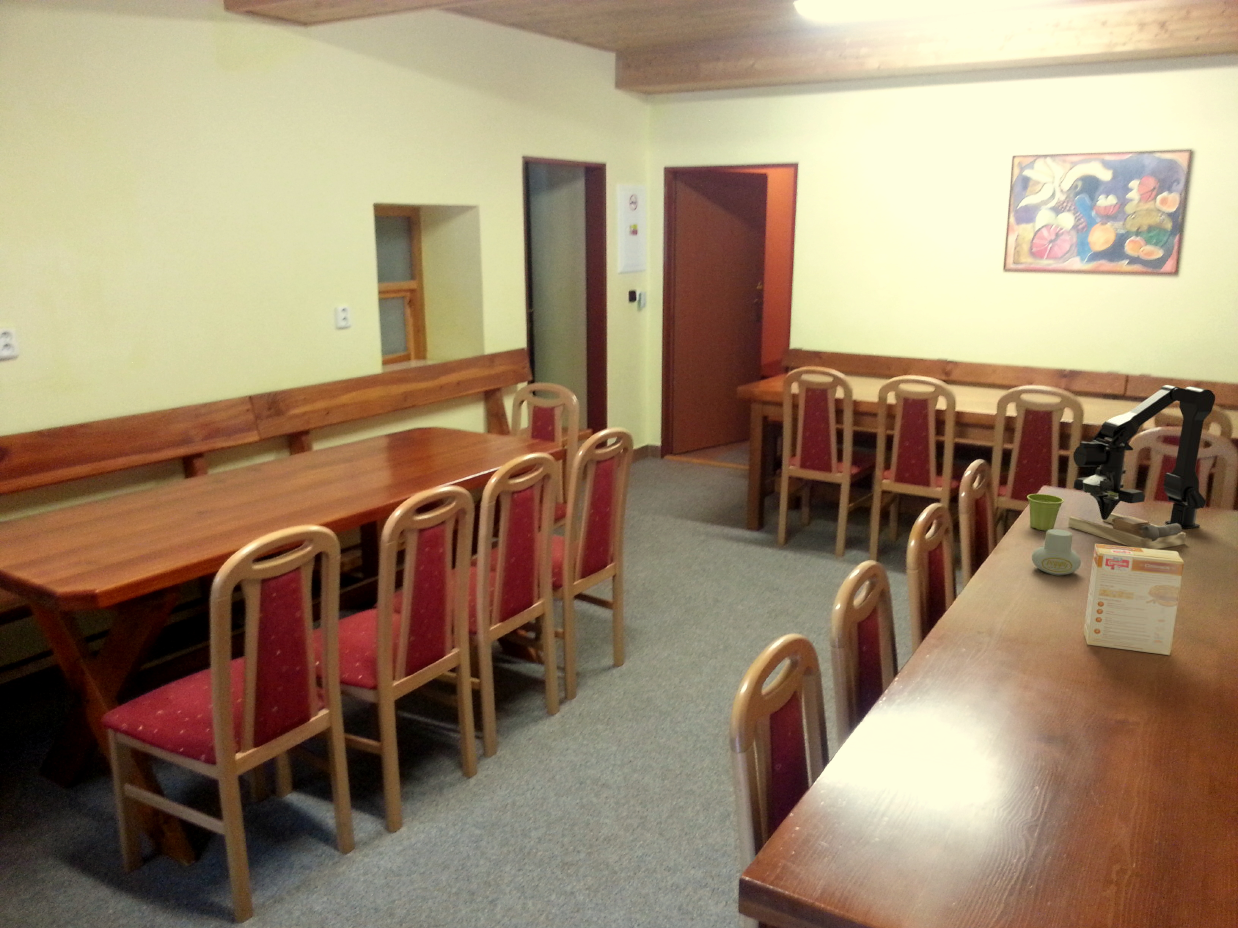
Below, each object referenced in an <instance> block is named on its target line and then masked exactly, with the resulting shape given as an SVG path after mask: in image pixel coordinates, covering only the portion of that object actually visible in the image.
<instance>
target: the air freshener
mask: <svg viewBox="0 0 1238 928" xmlns="http://www.w3.org/2000/svg"><path fill="white" fill-rule="evenodd" d="M1044 538H1045V539H1044V545H1043V546H1040V547H1038V548H1036V549H1035V550H1034V551H1033V552H1032V554H1031V561H1032V563H1033V564H1034V566H1035V567H1036V568H1038V569H1039V570H1040V571H1042V572H1044V573H1047V574H1048V575H1051V576H1064V575H1065V576H1066V575H1069V574H1072V573H1075V572H1077V570H1079V569H1080V567H1081V564H1082V561H1081V557H1080V556H1079V555H1078V554H1077V552H1076V551H1074V550H1073V549H1072V544H1073V543H1072V542H1073V534H1072V532H1070V531H1069V530H1064V529H1059V528H1058V529H1057V528H1053V529H1050V530H1048V531H1045V537H1044Z"/></svg>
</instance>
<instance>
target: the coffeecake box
mask: <svg viewBox="0 0 1238 928" xmlns="http://www.w3.org/2000/svg"><path fill="white" fill-rule="evenodd" d="M1092 554H1093V556H1092V563H1091V569H1090V570H1091V571H1090V580H1089V586H1088V595H1087V601H1086V609H1085V617H1084V627H1083V634H1084V637H1085V642H1086V645H1087V646H1094V647H1095V646H1096V647H1103V648H1110V649H1111V648H1112V649H1119V650H1120V649H1121V650H1126V651H1127V650H1128V651H1132V652H1133V651H1135V652H1142V653H1148V654H1149V653H1151V654H1156V655H1157V654H1158V655H1165V656H1170V655H1171V651H1172V646H1173V640H1174V639H1173V638H1174V630H1175V624H1176V618H1177V611H1178V605H1179V596H1180V591H1181V585H1182V584H1181V583H1182V579H1183V578H1182V577H1183V570H1184V566H1185V565H1184V564H1185V562H1184V560H1183V558H1182V557H1181V556H1180V554H1179V552H1178V551H1176V550H1166V549H1145V548H1135V547H1131V546H1126V545H1125V546H1123V545H1112V544H1103V543H1102V544H1101V543H1094V548H1093V553H1092Z"/></svg>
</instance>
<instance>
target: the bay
mask: <svg viewBox="0 0 1238 928" xmlns="http://www.w3.org/2000/svg"><path fill="white" fill-rule="evenodd" d="M1118 517H1126V515H1122V514H1119V513H1116V512H1113V511H1112V513H1111V514H1110V515H1109V517H1108V518H1107V520H1103V519H1102V521H1103V522H1105V523H1109V524H1112V525H1113V523H1114V522H1112V519H1114V518H1118ZM1068 519H1069V520H1068V525H1067V526H1068V527H1069V528H1072V529H1075V530H1079V531H1082V532H1085V533H1089V534H1090V535H1094V536H1097V537H1101V538H1104V539H1106V540H1109V541H1112V542H1116V543H1118V544H1122V545H1125V546H1127V547H1135V548H1145V549H1156V550H1160V549H1164V548H1169V547H1176V546H1181V545H1185V542H1186V535H1187V533H1186V532H1184V531H1183V528H1182V527H1181V525H1179V524H1177V523H1176V524H1166V525H1165V524H1164V525H1156V524H1153V523H1150V525H1146V526H1141V527H1139V529H1140V530H1142V535H1143V537H1144V538H1142V537H1139V536H1135V535H1132V534H1129V533H1126V532H1123V531H1119V530H1116V529H1113V527H1109V526H1107V525H1103V524H1101V523H1095V522H1093V521H1090V520H1088V519H1083V518H1080V517H1077V516H1069V518H1068Z"/></svg>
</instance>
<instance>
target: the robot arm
mask: <svg viewBox="0 0 1238 928" xmlns="http://www.w3.org/2000/svg"><path fill="white" fill-rule="evenodd" d="M1215 401H1216V395H1215V393H1214V392H1213V391H1212V390H1210V389H1207V388H1202V387H1197V386H1190V385H1189V386H1187V387H1184V388H1182V387H1179V386H1175V385H1171V384H1166V385H1163V386H1162V387H1160V389H1159V390H1158V391H1156V392H1154V393H1153V394H1152V395H1151V396H1149V397H1148V398H1146V399H1145V400H1144V401H1142V402H1141V403H1139V404H1138V405H1136V406H1135V407H1134V408H1132V409H1131V410H1130V411H1128V412H1126V413H1122V414H1120V415H1115V416H1114V417H1111V418H1110V419H1107V420H1106V421H1104V422H1103V423H1102V425H1101V428H1100V429H1099V430H1098V431H1097V433H1096V434H1095V435H1094V436H1093V438H1092V439H1091V440H1090V442H1089V441H1080V443H1079V445H1078V446H1077V447H1076V448H1075V449H1074V451H1073V458H1072V459H1073V461H1074V463H1075V465H1076V466H1077V467H1097V468H1096V469H1095V473H1094V474H1093V475H1090V476H1086V477H1077V478H1076V479H1075V480H1074V481H1073V486H1072V487H1073V489H1076V490H1079V491H1083V492H1084V493H1085V494H1086V493H1088V494H1089V495H1090V496H1091V497H1093V499H1095V500H1096V503H1097V505H1098V508H1099V509H1098V510H1099V513H1100V517H1101V520H1102V521H1103V520H1107V518H1108V517H1109V515H1110V514H1111V513H1112V512H1113V511H1114V510H1115V508H1116V507H1117V505H1119V504H1120V502H1124V503H1126V504H1137V503H1143V502H1144V503H1145V498H1146V495H1145V493H1144V491H1143V490H1142V491H1141V490H1139V489H1133V488H1128V489H1124V487H1125V485H1124V484H1123V483H1122V478H1123V475H1125V474H1126V469H1124V463H1125V456H1126V451H1133V450H1134V448H1133V447H1132V446H1131V445H1130V443H1129V441H1131V439H1132V438H1134V437H1135V436H1136V435H1137V434H1138V432H1139V429H1140V428H1141V426H1142V425H1144V424H1145V423H1147V421H1150V420H1151V419H1152V418H1154V417H1155V416H1157V415H1158V414H1159V413H1161V412H1162V411H1163V410H1165V409H1166V408H1168V407H1169V406H1171V405H1172V404H1174V403H1175V402H1179V410H1180V412H1181V415H1182V418H1183V419H1182V425H1181V431H1180V436H1179V437H1180V438H1179V443H1178V449H1177V455H1176V461H1175V466H1174V468H1173V470H1171V472H1166V473H1165V474H1164V481H1163V484H1162V487H1163V489H1164V492H1165V494H1166V498H1167V501H1169V502H1172V503H1173V504H1172V507H1171V508H1172V509H1171V514H1170V519H1169V520H1165V521H1164V523H1165V524H1166V525H1170V524H1176V523H1177V524H1179V525H1181V527H1182V529H1185V530H1186V529H1187V530H1188V529H1194V528H1199V527H1201V524H1198V523H1196V519H1197V512H1198V510H1200V509H1204V507H1205V506H1206V503H1207V500H1206V499H1205V497H1204V496H1203V495H1202V494H1201V492H1200V480H1199V477H1198V474H1197V473H1196V467H1197V463H1198V455H1199V451H1200V444H1201V439H1202V432H1203V428H1204V421H1205V420H1206V419H1207V418H1208V416H1209V415H1210V414H1211V413H1212V411H1213V408H1214V405H1215Z"/></svg>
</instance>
